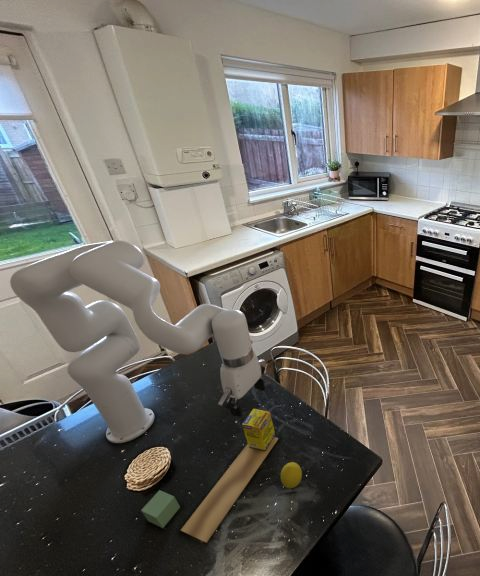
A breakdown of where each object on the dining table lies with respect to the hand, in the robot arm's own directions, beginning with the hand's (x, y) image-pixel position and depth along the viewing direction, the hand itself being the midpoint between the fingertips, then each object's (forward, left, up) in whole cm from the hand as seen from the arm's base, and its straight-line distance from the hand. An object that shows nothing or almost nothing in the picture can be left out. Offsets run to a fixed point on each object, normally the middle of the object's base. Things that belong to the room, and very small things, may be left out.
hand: (249, 401), depth 88 cm
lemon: (+17, -8, -19) cm, 26 cm away
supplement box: (+1, 0, -18) cm, 18 cm away
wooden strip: (+1, -12, -18) cm, 22 cm away
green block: (-10, -25, -18) cm, 32 cm away
